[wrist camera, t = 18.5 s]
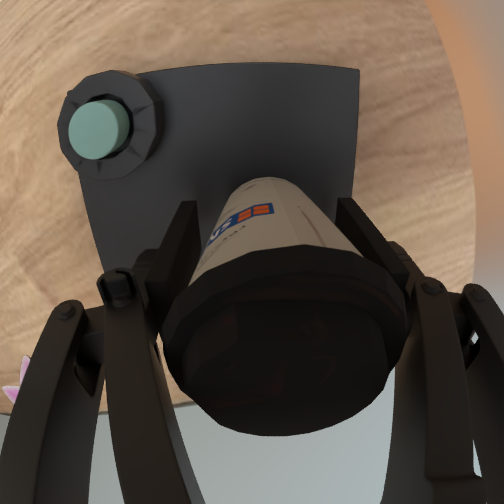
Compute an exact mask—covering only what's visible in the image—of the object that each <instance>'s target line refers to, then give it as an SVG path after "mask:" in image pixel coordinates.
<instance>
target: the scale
mask: <svg viewBox="0 0 504 504" xmlns="http://www.w3.org/2000/svg"><path fill="white" fill-rule="evenodd" d="M359 82H360V70H359V69H353V68H346V67H337V66H328V65H316V64H302V63H277V62H248V63H223V64H208V65H197V66H187V67H179V68H171V69H164V70H157V71H151V72H145V73H140V74H135V75H134V74H132V73H129V72H126V71H119V70H109V71H105V72H101V73H97V74H94V75H90V76H87V77H86V78H84V79H83V80H82V81H81V82H80V83H79V84H78V85H77V86H76V87H75V88H74V89H73V90H70V91H68V92H67V96H66V98H65V100H64V103H63V106H62V109H61V112H60V116H59V119H58V122H57V123H58V124H57V127H58V134H59V141H60V147H61V150H62V152H63V154H64V155H65V157H66V158H67V159H68V161H69V162H70V163H71V165H72V166H73V168H74V169H75V170H76V171H77V172H78V174H79V179H80V184H81V188H82V193H83V197H84V202H85V206H86V210H87V214H88V218H89V222H90V226H91V229H92V233H93V237H94V240H95V244H96V247H97V250H98V254H99V257H100V260H101V263H102V267H103V270H104V273H105V272H107V271H109V270H112V269H115V268H121V267H124V268H129V269H132V267H133V265H134V263H135V261H136V259H137V257H138V255H140V254H141V253H142V252H143V251H144V250H146V249H159V247H160V245H161V242H162V240H163V238H164V236H165V234H166V232H167V230H168V228H169V225H170V223H171V221H172V219H173V217H174V215H175V213H176V211H177V209H178V207H179V205H180V203H181V201H190V200H197V210H198V219H199V228H200V237H201V245H202V250H201V254H200V258H201V256H202V254H203V252H204V250H205V247H206V245H207V243H208V241H209V239H210V236H211V234H212V232H213V230H214V228H215V226H216V224H217V221H218V219H219V217H220V215H221V213H222V211H223V209H224V207H225V205H226V203H227V201H228V199H229V197H230V195H231V194H232V193H233V192H234V191H235V190H236V189H238V188H239V187H240V186H241V185H242V184H245V183H247V182H249V181H251V180H253V179H257V178H264V177H274V178H280V179H285V180H287V181H288V182H290V183H292V184H294V185H296V186H297V187H298V188H299V189H300V190H301V191H302V192H303V193H304V194H305V195H306V196H307V197H308V198H309V199H310V200H311V201H312V202H313V203H314V204H315V205H316V206H317V207H318V208H319V209H320V210H321V211H322V212H323V213H324V214H325V215H326V216H327V217H328V219H329V220H330V221H331V222H332V223H333V224H334V225H335V218H336V209H337V199H338V197H342V198H351V196H352V187H353V178H354V168H355V156H356V144H357V129H358V111H359ZM100 100H113V101H116V102H118V103H119V104H121V105H122V106H123V107H124V109H125V110H126V112H127V114H128V117H129V122H130V127H129V133H128V136H127V138H126V140H125V142H124V143H123V144H122V145H121V146H120V147H119V148H118V149H116V150H114V151H113V152H111V153H109V154H108V155H106V156H104V157H102V158H100V159H87V158H84V157H82V156H81V155H79V154H78V153H77V152H76V151H75V150H74V148H73V147H72V145H71V143H70V139H69V124H70V121H71V118H72V116H73V115H74V113H75V112H76V111H77V110H78V109H79V108H80V107H81V106H82V105H84V104H86V103H89V102H94V101H100ZM200 258H199V261H200Z"/></svg>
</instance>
